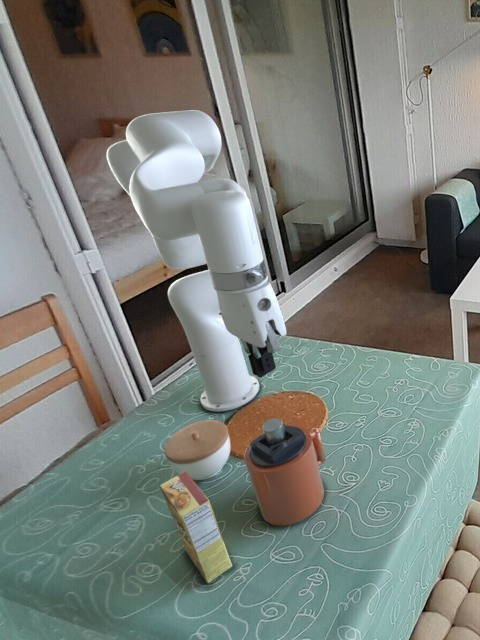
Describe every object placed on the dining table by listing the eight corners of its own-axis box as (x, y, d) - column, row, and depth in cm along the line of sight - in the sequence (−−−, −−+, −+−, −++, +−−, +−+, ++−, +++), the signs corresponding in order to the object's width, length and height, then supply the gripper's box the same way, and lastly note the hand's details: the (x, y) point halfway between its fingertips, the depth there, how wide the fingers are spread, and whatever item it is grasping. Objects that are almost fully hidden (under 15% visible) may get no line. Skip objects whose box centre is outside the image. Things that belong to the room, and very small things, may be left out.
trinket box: (169, 495, 93) (153, 458, 89) (184, 454, 103) (170, 418, 98) (231, 482, 96) (218, 446, 92) (241, 443, 105) (230, 408, 101)
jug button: (262, 440, 85) (258, 426, 84) (278, 428, 87) (274, 415, 86) (274, 447, 83) (270, 434, 82) (290, 435, 86) (286, 422, 85)
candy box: (185, 551, 83) (156, 486, 76) (211, 534, 86) (186, 469, 79) (208, 585, 78) (179, 518, 71) (235, 565, 81) (210, 499, 74)
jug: (248, 508, 91) (227, 446, 84) (308, 459, 101) (294, 400, 94) (287, 536, 85) (268, 473, 79) (347, 481, 96) (335, 421, 89)
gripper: (292, 276, 75) (312, 374, 83) (233, 254, 82) (257, 347, 90) (246, 296, 69) (273, 400, 77) (187, 271, 76) (217, 368, 85)
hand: (264, 371), depth 84 cm, fingers closed
